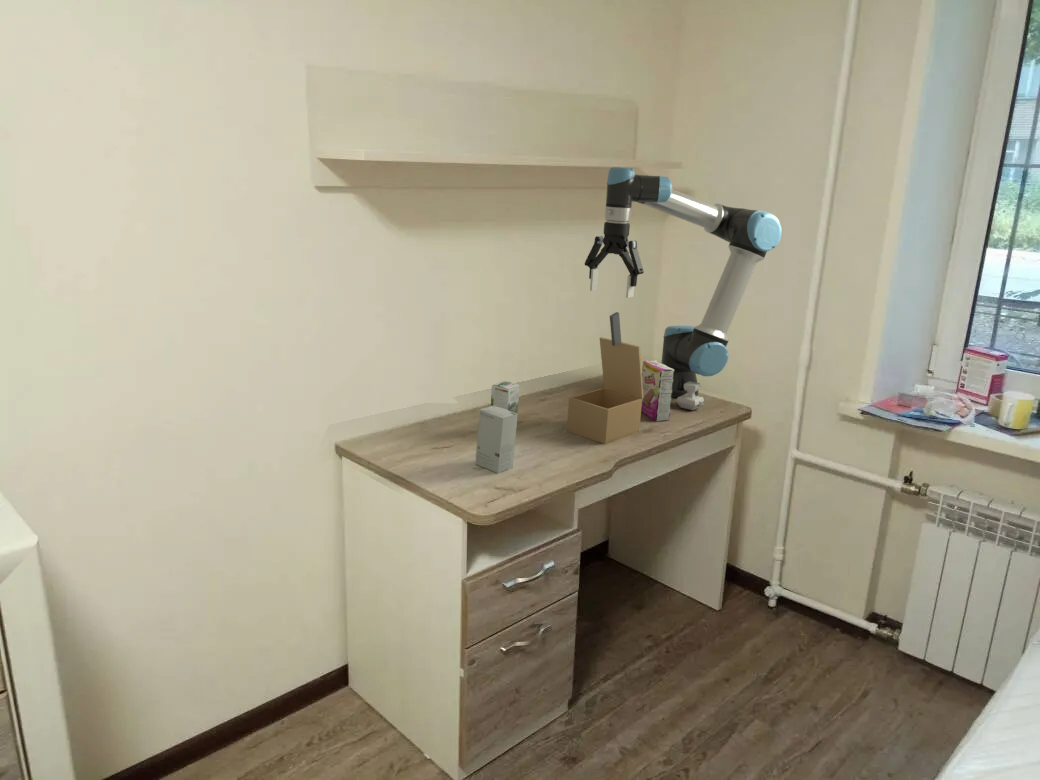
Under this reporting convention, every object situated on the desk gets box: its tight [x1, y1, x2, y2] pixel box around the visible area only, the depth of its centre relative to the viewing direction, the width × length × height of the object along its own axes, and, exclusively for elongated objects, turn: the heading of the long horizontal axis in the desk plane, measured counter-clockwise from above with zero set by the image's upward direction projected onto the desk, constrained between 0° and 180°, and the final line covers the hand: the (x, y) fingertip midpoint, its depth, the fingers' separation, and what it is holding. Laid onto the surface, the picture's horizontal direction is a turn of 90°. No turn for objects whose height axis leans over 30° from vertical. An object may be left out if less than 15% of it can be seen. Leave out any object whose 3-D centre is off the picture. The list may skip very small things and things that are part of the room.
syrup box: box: [490, 380, 520, 431], centre depth 221 cm, size 6×6×14 cm
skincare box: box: [475, 405, 519, 474], centre depth 198 cm, size 8×6×15 cm
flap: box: [599, 311, 643, 399], centre depth 226 cm, size 25×14×3 cm
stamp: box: [676, 381, 705, 411], centre depth 254 cm, size 9×7×8 cm
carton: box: [566, 387, 642, 445], centre depth 228 cm, size 16×14×10 cm
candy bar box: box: [640, 359, 674, 422], centre depth 243 cm, size 11×5×16 cm, turn 22°
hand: (611, 293), depth 239 cm, fingers open, 13 cm apart
